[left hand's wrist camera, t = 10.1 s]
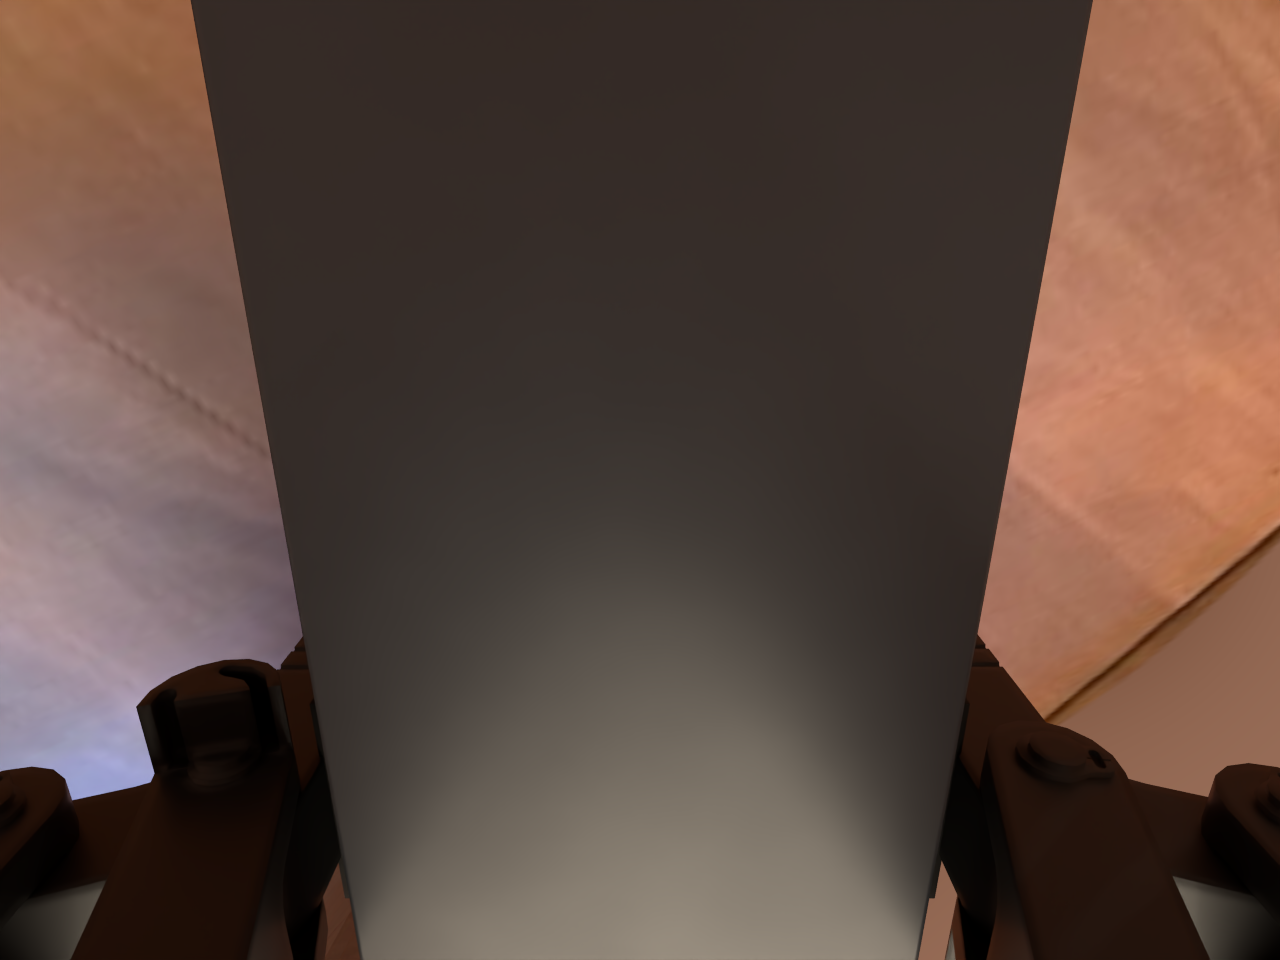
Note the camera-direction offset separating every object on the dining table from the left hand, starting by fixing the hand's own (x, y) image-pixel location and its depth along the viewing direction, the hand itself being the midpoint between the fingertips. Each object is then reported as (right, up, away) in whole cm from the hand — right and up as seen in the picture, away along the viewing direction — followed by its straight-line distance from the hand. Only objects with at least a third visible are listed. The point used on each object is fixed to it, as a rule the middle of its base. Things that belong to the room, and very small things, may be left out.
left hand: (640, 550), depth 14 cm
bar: (0, +8, -2) cm, 8 cm away
